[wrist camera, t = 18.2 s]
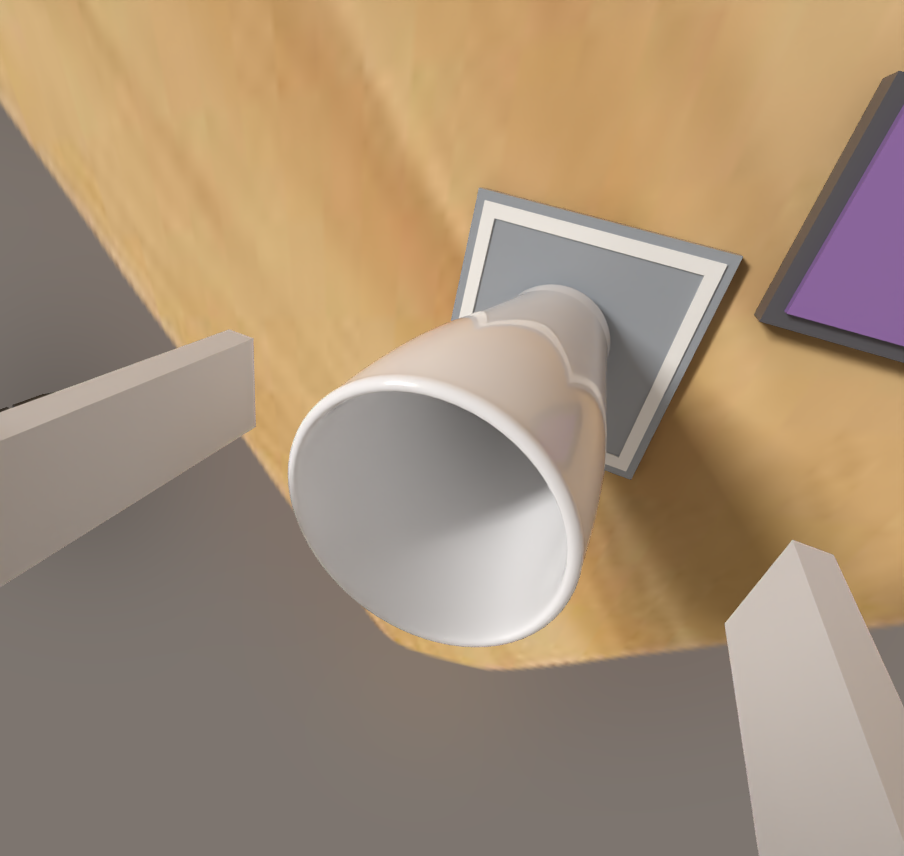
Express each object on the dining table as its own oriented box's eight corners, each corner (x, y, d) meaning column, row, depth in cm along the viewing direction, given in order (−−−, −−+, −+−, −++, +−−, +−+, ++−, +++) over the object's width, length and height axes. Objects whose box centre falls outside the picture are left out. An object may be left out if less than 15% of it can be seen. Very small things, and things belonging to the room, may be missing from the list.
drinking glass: (477, 270, 22) (245, 371, 10) (632, 258, 20) (589, 376, 7) (488, 404, 25) (318, 619, 12) (625, 409, 22) (585, 686, 10)
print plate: (437, 401, 27) (432, 406, 26) (483, 187, 21) (478, 187, 21) (631, 473, 24) (630, 480, 24) (740, 254, 19) (743, 256, 18)
